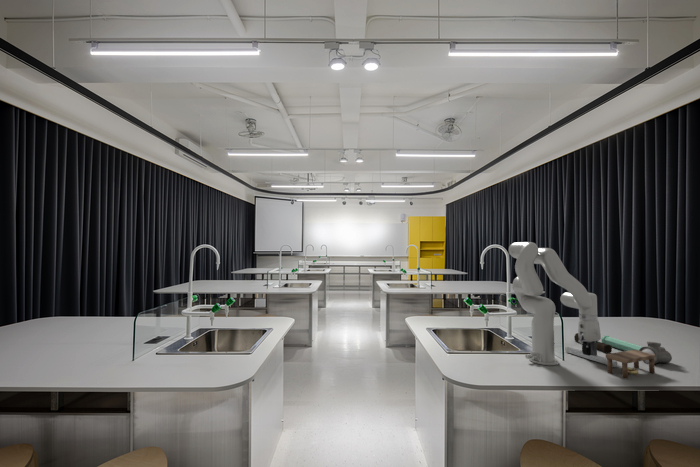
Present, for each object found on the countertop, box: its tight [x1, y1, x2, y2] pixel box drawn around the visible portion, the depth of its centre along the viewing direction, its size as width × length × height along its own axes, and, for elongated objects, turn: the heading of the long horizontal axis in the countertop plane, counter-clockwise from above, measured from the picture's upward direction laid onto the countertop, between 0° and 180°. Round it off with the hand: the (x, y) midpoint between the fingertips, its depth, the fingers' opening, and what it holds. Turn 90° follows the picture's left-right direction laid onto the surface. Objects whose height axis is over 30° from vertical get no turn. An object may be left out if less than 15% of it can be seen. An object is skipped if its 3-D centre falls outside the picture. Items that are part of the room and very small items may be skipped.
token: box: [628, 366, 639, 376], centre depth 146 cm, size 5×5×2 cm
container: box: [601, 335, 643, 352], centre depth 175 cm, size 6×6×25 cm
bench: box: [605, 350, 655, 380], centre depth 146 cm, size 20×8×8 cm, turn 109°
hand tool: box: [574, 332, 613, 354], centre depth 183 cm, size 23×5×6 cm, turn 4°
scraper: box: [564, 342, 618, 368], centre depth 163 cm, size 4×24×8 cm, turn 19°
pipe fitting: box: [639, 341, 673, 365], centre depth 158 cm, size 12×8×10 cm
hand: (589, 354), depth 163 cm, fingers closed on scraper, 3 cm apart
